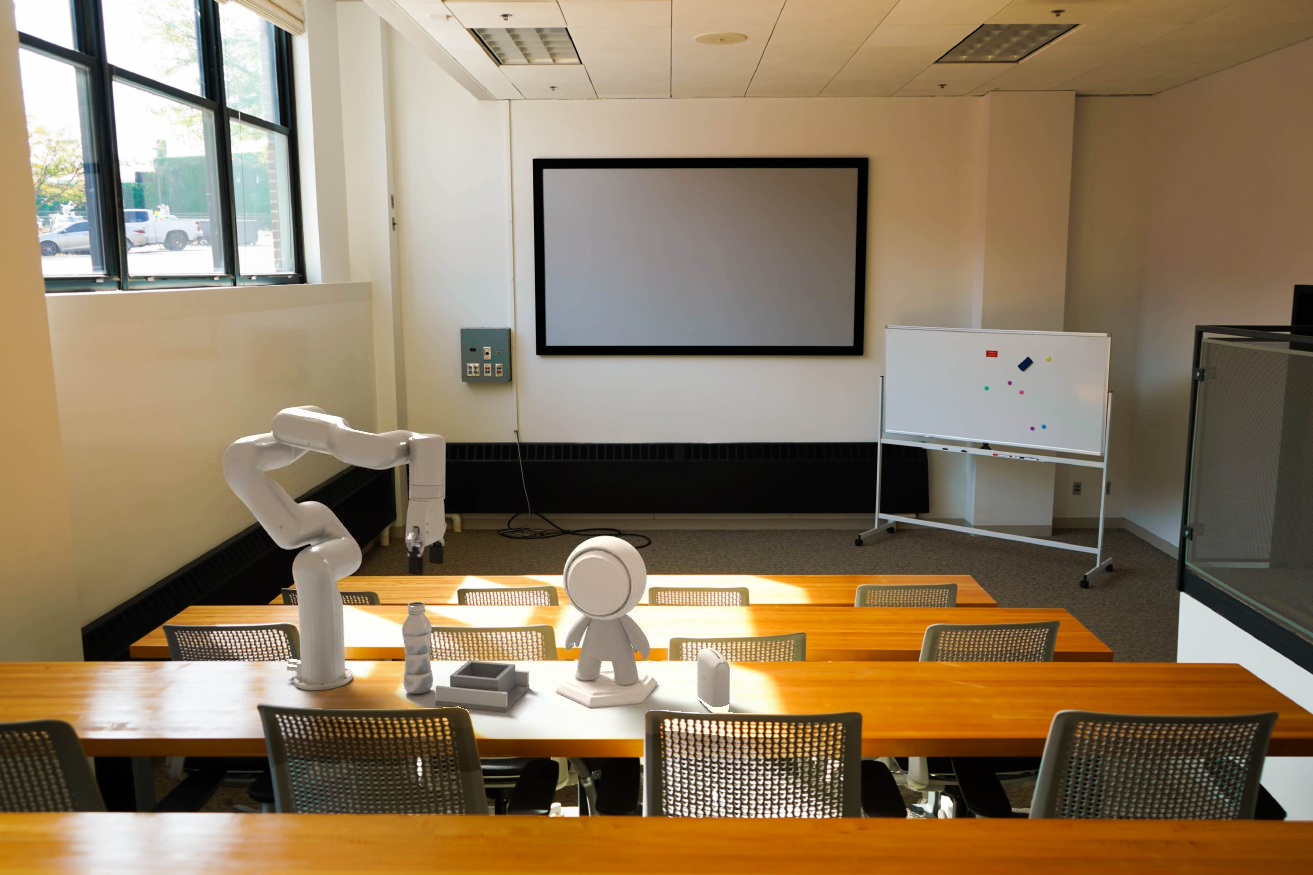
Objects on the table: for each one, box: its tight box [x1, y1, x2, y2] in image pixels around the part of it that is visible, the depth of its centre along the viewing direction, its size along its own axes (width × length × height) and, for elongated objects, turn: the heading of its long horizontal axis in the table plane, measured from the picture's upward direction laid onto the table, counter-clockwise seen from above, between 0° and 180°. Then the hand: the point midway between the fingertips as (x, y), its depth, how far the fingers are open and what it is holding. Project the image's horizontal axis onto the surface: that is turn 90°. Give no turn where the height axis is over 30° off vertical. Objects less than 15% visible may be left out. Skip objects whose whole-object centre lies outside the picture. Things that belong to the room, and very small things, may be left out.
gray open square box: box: [435, 659, 530, 713], centre depth 212 cm, size 16×14×6 cm
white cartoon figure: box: [555, 535, 658, 709], centre depth 215 cm, size 20×23×35 cm
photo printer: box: [696, 647, 731, 707], centre depth 207 cm, size 10×4×12 cm, turn 20°
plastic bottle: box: [401, 601, 434, 695], centre depth 214 cm, size 6×7×20 cm
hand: (426, 568), depth 211 cm, fingers open, 9 cm apart
